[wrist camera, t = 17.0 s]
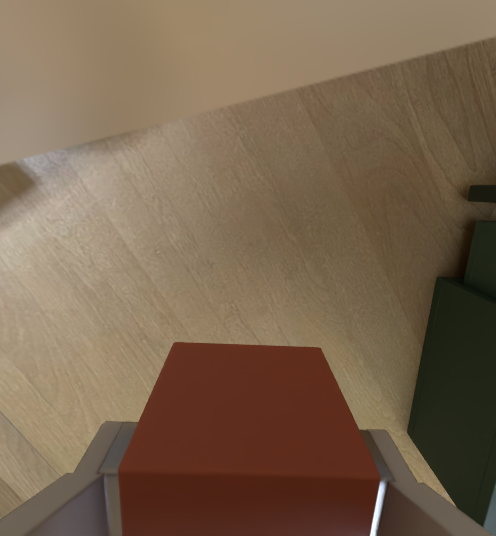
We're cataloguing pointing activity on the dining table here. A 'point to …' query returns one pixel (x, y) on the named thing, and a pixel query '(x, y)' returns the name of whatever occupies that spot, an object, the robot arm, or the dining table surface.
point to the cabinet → (459, 398)
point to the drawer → (482, 246)
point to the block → (247, 448)
